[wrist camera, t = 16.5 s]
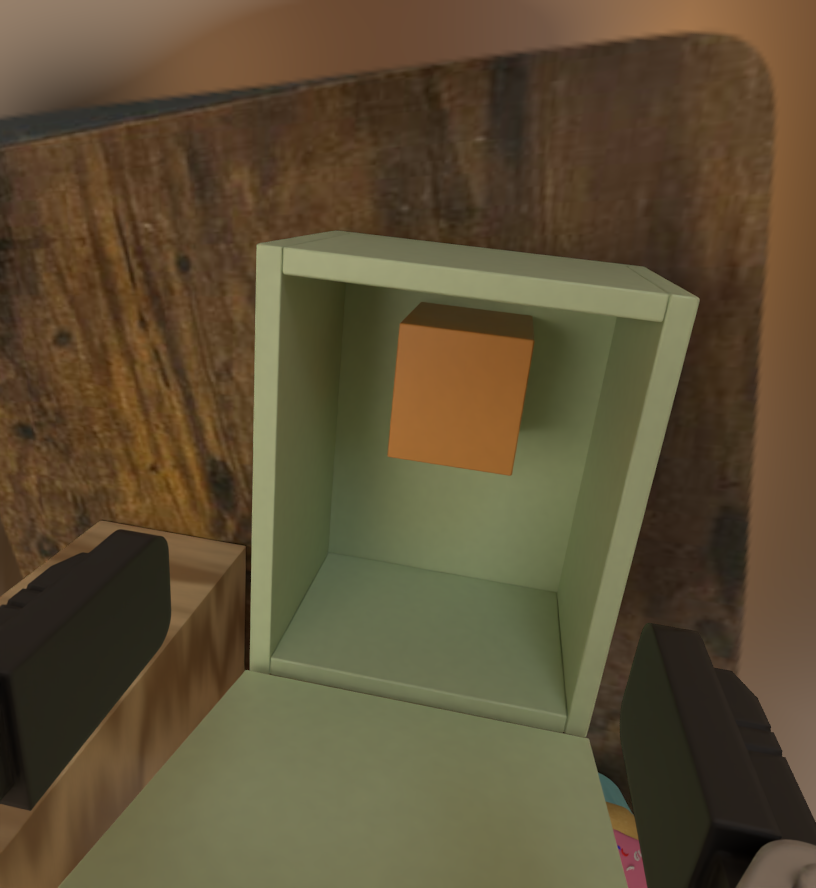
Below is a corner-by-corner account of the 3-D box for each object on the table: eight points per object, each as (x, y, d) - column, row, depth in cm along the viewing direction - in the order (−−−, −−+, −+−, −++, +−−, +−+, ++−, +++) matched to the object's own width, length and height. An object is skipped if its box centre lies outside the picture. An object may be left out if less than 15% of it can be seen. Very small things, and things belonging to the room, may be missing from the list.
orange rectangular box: (420, 301, 27) (399, 322, 22) (532, 315, 26) (535, 340, 22) (408, 416, 29) (386, 457, 24) (513, 431, 28) (511, 476, 24)
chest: (335, 230, 27) (256, 243, 19) (645, 266, 26) (701, 297, 18) (316, 554, 33) (249, 671, 25) (570, 599, 32) (586, 738, 23)
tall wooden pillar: (100, 519, 34) (-509, 982, 14) (246, 545, 34) (-182, 1080, 13) (110, 644, 37) (-384, 1177, 17) (244, 671, 36) (-108, 1269, 16)
